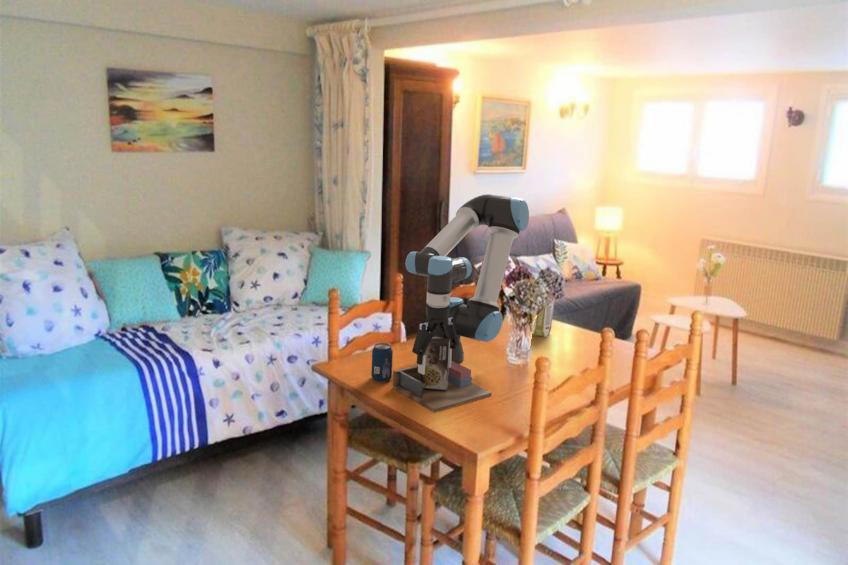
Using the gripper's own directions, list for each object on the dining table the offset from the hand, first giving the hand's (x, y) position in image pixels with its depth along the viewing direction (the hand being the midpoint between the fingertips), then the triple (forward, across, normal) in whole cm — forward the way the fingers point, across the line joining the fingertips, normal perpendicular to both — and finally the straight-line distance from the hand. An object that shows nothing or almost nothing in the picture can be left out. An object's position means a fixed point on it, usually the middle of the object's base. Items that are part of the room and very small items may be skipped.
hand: (434, 369), depth 208 cm
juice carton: (+8, +79, +22) cm, 82 cm away
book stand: (+7, +2, -2) cm, 8 cm away
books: (+6, +10, +1) cm, 12 cm away
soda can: (+7, -9, +17) cm, 20 cm away
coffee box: (+6, 0, 0) cm, 6 cm away
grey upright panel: (+6, -9, +1) cm, 11 cm away
